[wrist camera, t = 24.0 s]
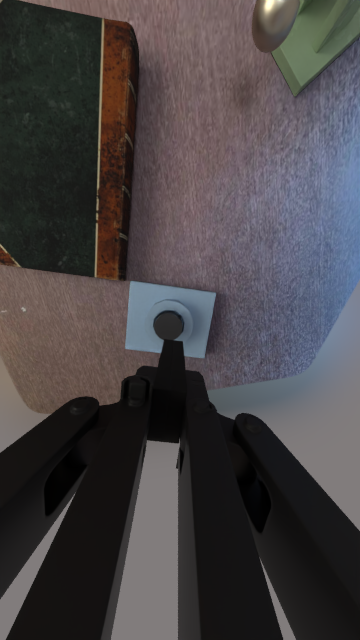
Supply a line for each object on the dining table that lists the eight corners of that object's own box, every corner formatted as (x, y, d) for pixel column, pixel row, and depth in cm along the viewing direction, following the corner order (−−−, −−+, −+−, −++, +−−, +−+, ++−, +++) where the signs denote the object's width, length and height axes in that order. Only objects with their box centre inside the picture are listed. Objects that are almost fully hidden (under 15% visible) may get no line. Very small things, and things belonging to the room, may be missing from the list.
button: (183, 313, 24) (184, 315, 22) (180, 338, 25) (180, 342, 23) (157, 309, 24) (155, 312, 22) (154, 335, 25) (152, 339, 23)
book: (-14, 33, 20) (4, 263, 26) (-54, -19, 17) (-23, 261, 22) (142, 64, 21) (127, 280, 26) (135, 21, 17) (119, 281, 23)
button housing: (213, 291, 27) (219, 294, 23) (202, 352, 29) (206, 364, 25) (133, 280, 26) (126, 280, 23) (128, 343, 29) (121, 353, 25)
